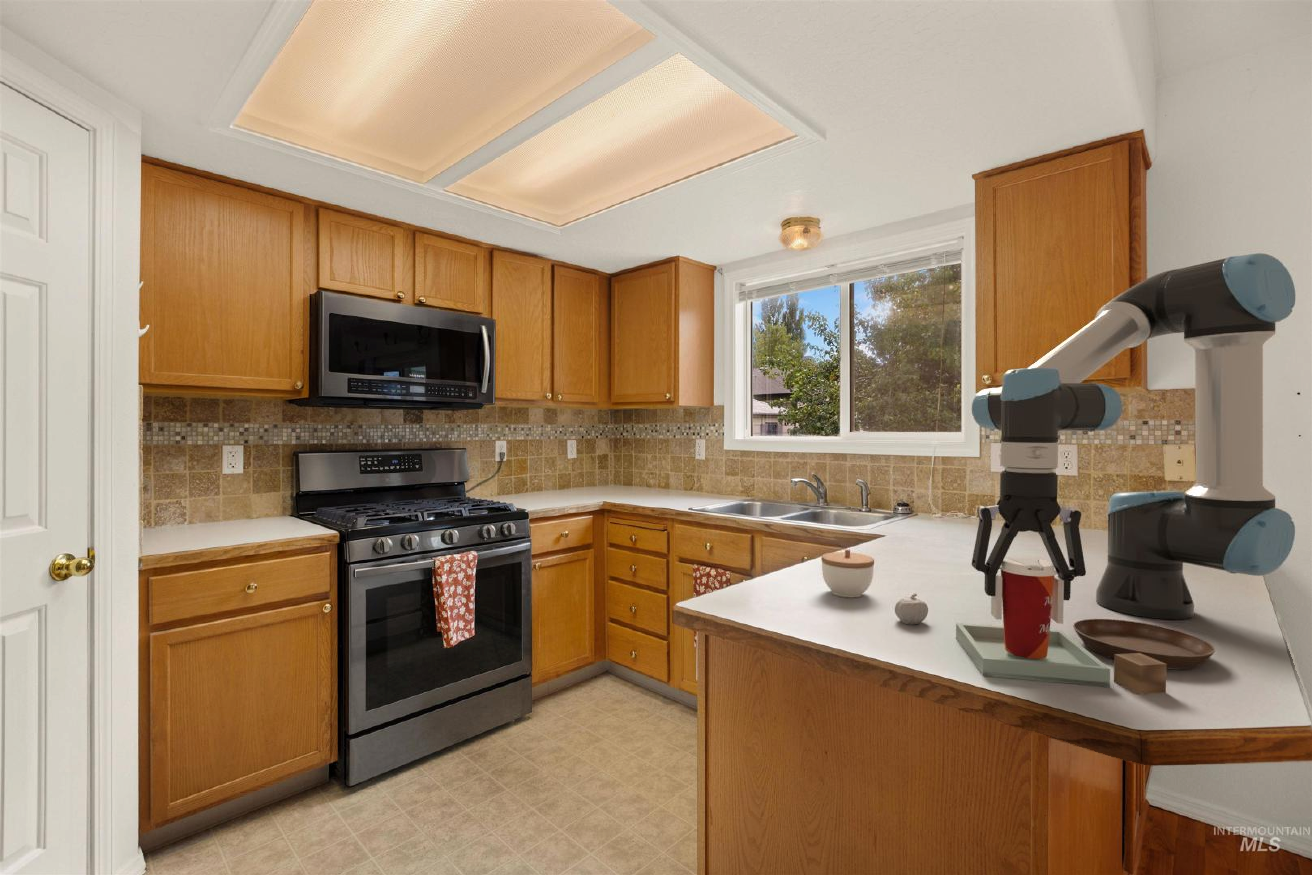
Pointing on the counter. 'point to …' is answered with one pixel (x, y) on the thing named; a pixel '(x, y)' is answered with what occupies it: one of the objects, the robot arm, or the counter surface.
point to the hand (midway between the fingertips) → (1026, 618)
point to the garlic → (911, 610)
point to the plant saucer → (1144, 642)
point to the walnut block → (1140, 673)
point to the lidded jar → (847, 573)
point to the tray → (1059, 666)
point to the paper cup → (1027, 605)
